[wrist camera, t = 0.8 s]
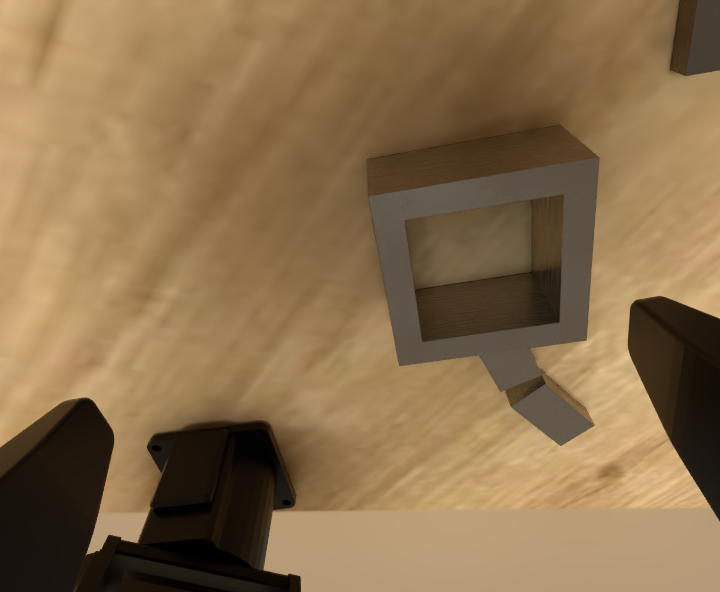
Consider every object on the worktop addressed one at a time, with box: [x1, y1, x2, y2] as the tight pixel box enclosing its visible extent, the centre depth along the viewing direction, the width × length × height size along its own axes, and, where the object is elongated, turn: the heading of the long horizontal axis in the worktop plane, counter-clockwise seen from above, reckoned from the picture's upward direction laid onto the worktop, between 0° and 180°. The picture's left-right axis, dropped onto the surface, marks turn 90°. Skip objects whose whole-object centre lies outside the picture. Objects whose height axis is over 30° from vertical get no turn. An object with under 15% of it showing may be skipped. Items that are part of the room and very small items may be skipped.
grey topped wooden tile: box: [479, 348, 542, 392], centre depth 24 cm, size 4×2×1 cm, turn 30°
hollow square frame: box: [367, 125, 599, 366], centre depth 19 cm, size 7×7×4 cm
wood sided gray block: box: [506, 369, 595, 446], centre depth 26 cm, size 4×2×1 cm, turn 47°
